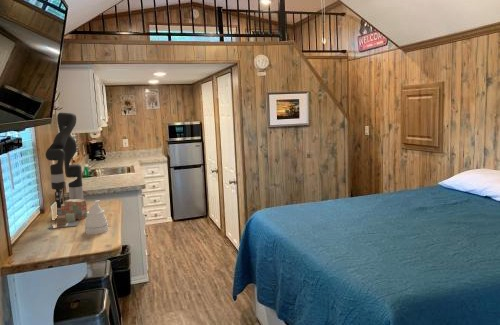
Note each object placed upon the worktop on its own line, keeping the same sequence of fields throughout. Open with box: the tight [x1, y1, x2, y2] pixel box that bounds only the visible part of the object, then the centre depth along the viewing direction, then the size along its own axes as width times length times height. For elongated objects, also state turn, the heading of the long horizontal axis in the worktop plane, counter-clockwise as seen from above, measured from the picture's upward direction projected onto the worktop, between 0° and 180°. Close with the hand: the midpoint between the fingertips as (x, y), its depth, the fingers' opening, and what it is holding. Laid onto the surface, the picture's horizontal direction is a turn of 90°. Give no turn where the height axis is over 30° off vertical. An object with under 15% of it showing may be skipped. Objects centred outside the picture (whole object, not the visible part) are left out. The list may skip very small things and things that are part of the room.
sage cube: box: [66, 212, 76, 222], centre depth 257 cm, size 5×5×5 cm
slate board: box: [48, 220, 79, 230], centre depth 247 cm, size 10×16×1 cm, turn 108°
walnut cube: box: [55, 216, 67, 226], centre depth 247 cm, size 5×5×5 cm
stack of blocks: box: [57, 198, 88, 220], centre depth 265 cm, size 21×6×12 cm, turn 80°
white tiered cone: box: [84, 200, 109, 235], centre depth 234 cm, size 13×13×18 cm
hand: (60, 206), depth 245 cm, fingers open, 8 cm apart
